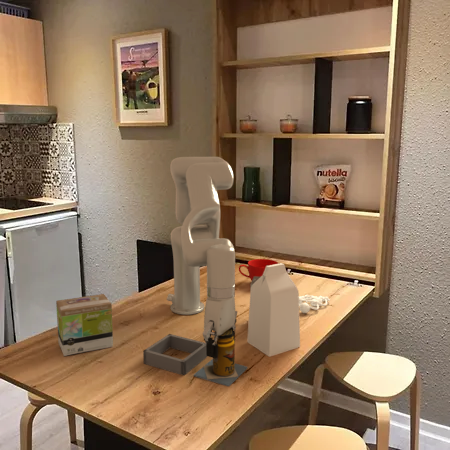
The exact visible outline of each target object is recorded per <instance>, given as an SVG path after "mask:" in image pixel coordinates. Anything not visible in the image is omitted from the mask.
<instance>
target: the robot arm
mask: <svg viewBox="0 0 450 450" xmlns="http://www.w3.org/2000/svg"><path fill="white" fill-rule="evenodd" d="M169 169H170V174H171V177H172V180H173V182H174V185H175V207H174V208H175V219H176V222H177V223H178V224H180V226H176V227H174V228H173V229H172V230H171V232H170V243H171V248H172V249H171V250H172V256H173V257H172V258H173V285H174V286H173V289H174V293H173V294H172V293H168V295H167V297H166V301H168V302H171V303H172V304H170V311H171V312H173V313H175V314H178V315H184V316H186V315H189V316H190V315H195V314H199V313H201V312H203V311H204V315H203V316H204V319H203V331H202V336H203V340H204V343H206V355H207V356H208V357H207V358H212V359H213V358H215V359H216V358H217V357H218V344H216V343H217V340H218V337H219V336H220V335H222V334H223V333H224V332H226V331H227V330H228V329H230V330H232V331H233V340H234V342H236V328H237V327H236V323H237V316H238V311H237V310H236V301H235V299H236V298H235V297H236V252H235V247H234V245H233V243H232V242H231V240H230V239H229V238H224V237H223V238H222V237H221V238H220V229H221V204H220V203H221V202H220V199H219V195H218V191H220V190H221V191H222V190H229V189H231V188H232V187H233V185H234V172H233V169H232V166H231V165H230V164H229V162H228V161H226V160H224V159H223V158H222V157H220V156H180V157H176V158H173V159H172V160H171V162H170V167H169ZM200 267H206V300H205V304H204V303H203V301H201V276H200V275H201V270H200V269H201V268H200ZM215 332H216V333H215ZM212 336H213V337H212ZM214 336H215V337H214Z"/></svg>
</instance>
